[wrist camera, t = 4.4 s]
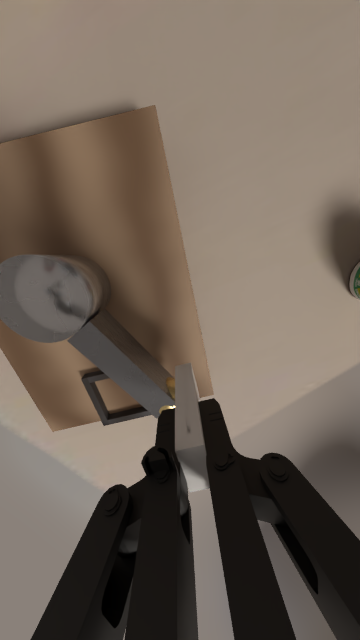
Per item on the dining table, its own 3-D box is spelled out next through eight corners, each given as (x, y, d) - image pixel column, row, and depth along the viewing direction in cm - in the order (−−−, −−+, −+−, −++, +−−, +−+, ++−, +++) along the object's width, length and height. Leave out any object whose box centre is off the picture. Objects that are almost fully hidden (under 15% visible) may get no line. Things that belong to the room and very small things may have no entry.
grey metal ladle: (33, 283, 15) (-31, 296, 10) (76, 241, 14) (30, 232, 9) (158, 397, 19) (155, 444, 14) (196, 370, 18) (206, 410, 14)
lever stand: (157, 134, 15) (154, 94, 11) (207, 377, 23) (215, 399, 19) (-58, 187, 15) (-129, 164, 11) (66, 410, 23) (48, 438, 19)
